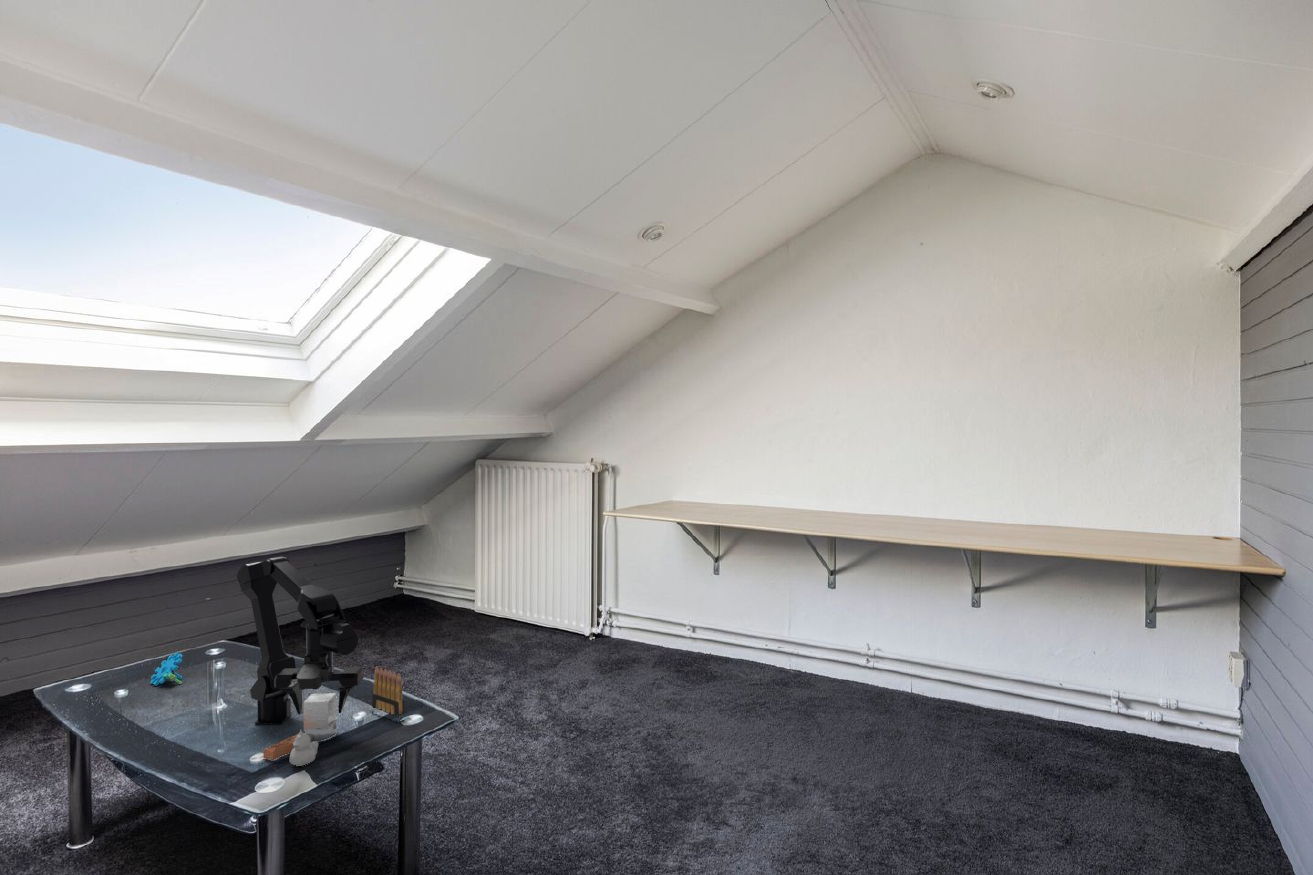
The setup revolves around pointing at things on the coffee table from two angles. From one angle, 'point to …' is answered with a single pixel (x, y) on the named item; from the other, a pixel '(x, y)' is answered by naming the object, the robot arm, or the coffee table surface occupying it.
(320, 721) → the small white cube
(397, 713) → the ammunition clip
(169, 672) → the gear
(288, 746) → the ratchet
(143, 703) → the coffee table surface
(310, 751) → the rubber duck
